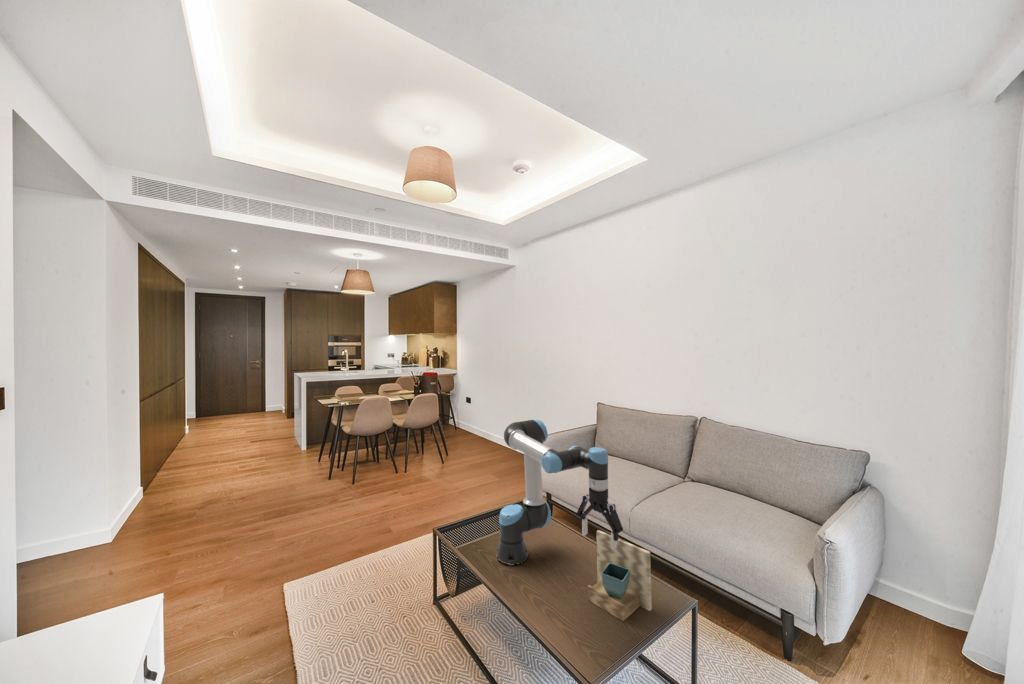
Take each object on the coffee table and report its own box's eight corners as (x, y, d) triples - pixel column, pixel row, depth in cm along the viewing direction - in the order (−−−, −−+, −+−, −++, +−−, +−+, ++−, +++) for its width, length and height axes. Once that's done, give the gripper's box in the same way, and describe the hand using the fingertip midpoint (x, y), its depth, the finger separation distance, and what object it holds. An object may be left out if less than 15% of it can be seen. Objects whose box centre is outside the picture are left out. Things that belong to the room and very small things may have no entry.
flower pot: (623, 605, 139) (623, 581, 139) (601, 596, 144) (600, 573, 144) (631, 592, 146) (630, 569, 146) (609, 584, 151) (609, 562, 152)
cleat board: (580, 594, 151) (578, 540, 152) (599, 580, 160) (598, 529, 161) (633, 627, 133) (631, 566, 134) (651, 609, 142) (650, 551, 143)
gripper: (567, 481, 153) (568, 532, 153) (621, 500, 135) (621, 558, 135) (578, 477, 158) (579, 526, 158) (631, 494, 140) (632, 550, 140)
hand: (598, 541), depth 147 cm, fingers open, 13 cm apart
